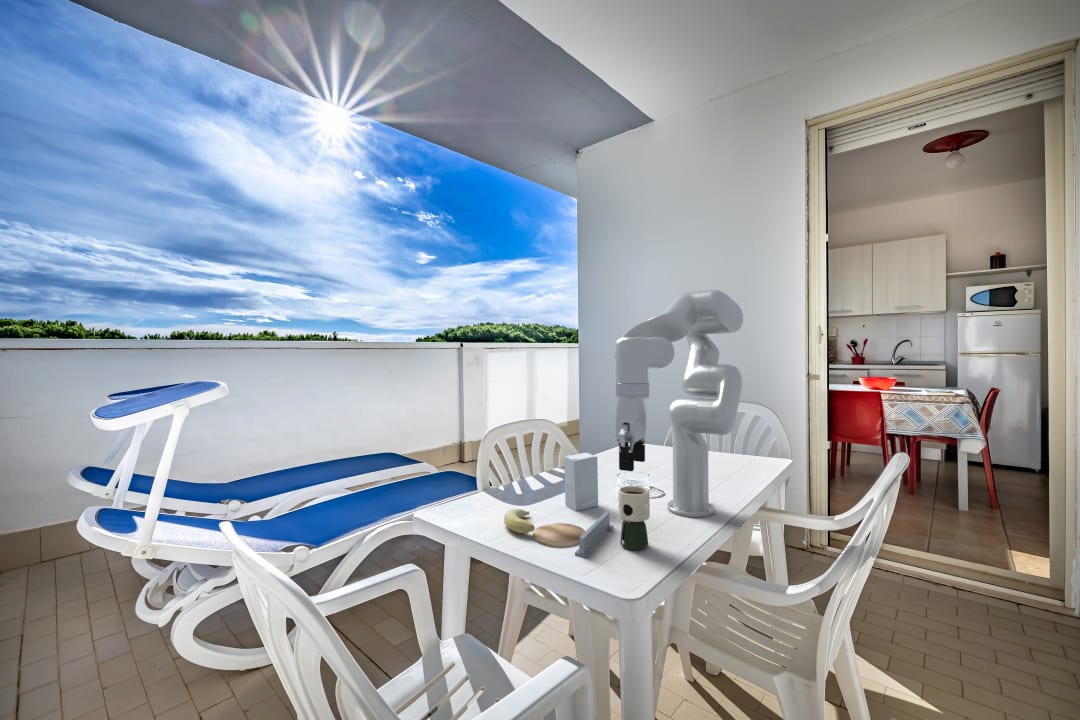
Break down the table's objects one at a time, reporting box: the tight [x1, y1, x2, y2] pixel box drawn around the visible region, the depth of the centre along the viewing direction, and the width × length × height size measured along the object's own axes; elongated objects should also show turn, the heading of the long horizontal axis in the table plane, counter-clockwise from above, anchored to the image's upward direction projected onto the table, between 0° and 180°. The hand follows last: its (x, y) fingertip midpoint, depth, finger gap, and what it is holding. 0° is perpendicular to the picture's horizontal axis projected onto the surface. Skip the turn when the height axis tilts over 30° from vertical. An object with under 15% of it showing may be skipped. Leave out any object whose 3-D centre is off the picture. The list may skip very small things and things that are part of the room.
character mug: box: [617, 485, 651, 550], centre depth 104 cm, size 11×7×13 cm, turn 24°
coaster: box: [532, 522, 586, 548], centre depth 110 cm, size 13×13×1 cm
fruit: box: [503, 508, 536, 535], centre depth 116 cm, size 7×15×3 cm, turn 7°
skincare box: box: [563, 452, 599, 512], centre depth 131 cm, size 8×6×15 cm
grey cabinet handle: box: [574, 511, 615, 559], centre depth 107 cm, size 18×3×4 cm, turn 153°
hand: (632, 465), depth 103 cm, fingers open, 9 cm apart
